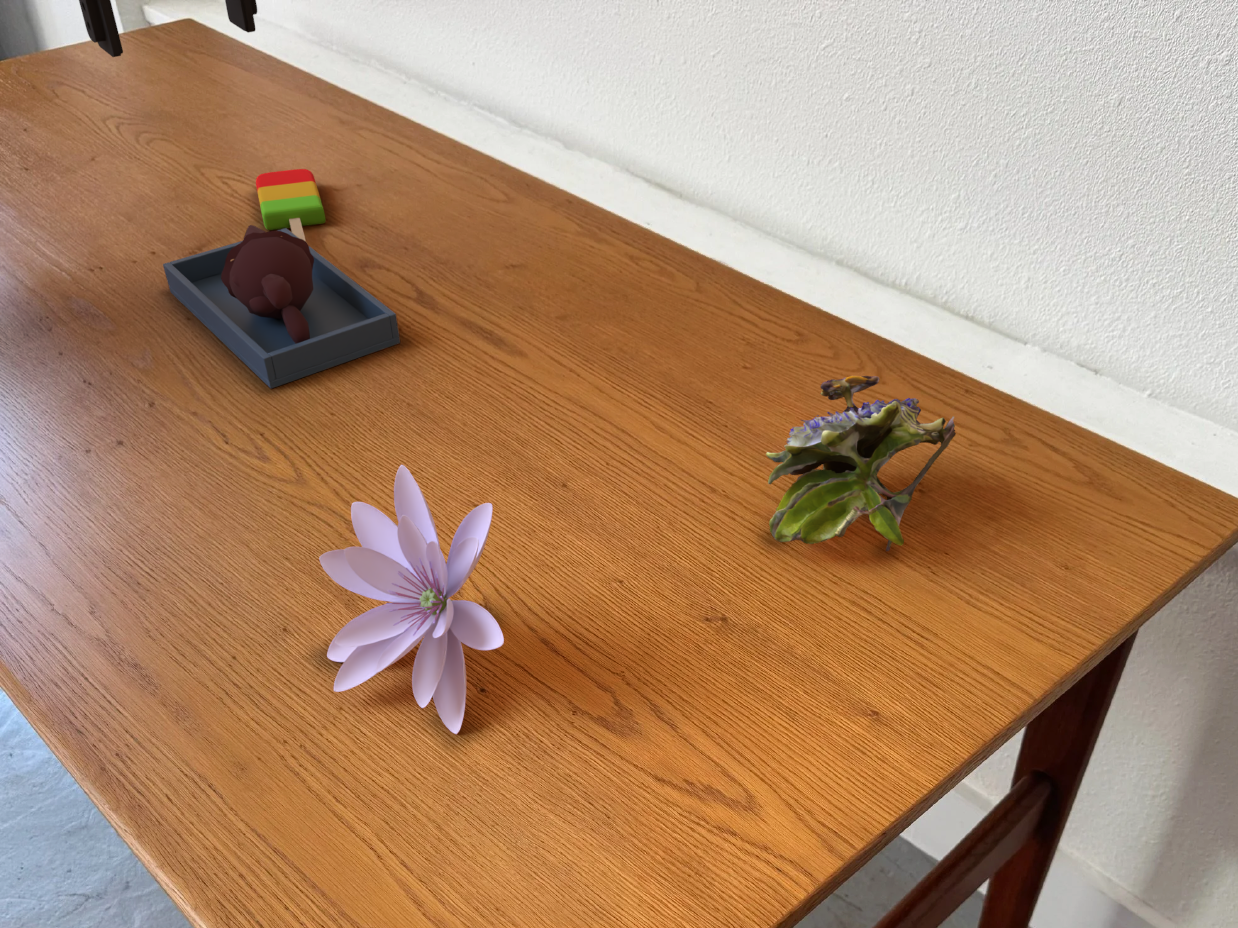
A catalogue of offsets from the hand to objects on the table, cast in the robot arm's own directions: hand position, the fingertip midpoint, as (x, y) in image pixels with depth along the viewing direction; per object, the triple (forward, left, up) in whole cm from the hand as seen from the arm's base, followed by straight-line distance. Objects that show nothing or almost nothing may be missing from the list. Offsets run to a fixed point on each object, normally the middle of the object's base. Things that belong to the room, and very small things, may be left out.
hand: (178, 38), depth 87 cm
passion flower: (+20, -51, -21) cm, 59 cm away
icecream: (+2, -3, -21) cm, 21 cm away
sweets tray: (+2, -3, -21) cm, 21 cm away
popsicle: (+11, +13, -21) cm, 27 cm away
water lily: (-10, -45, -21) cm, 51 cm away
